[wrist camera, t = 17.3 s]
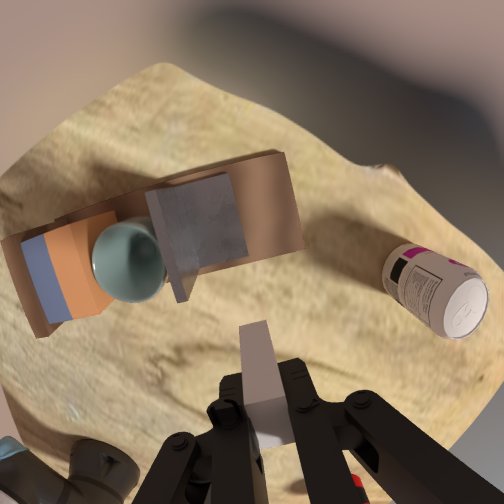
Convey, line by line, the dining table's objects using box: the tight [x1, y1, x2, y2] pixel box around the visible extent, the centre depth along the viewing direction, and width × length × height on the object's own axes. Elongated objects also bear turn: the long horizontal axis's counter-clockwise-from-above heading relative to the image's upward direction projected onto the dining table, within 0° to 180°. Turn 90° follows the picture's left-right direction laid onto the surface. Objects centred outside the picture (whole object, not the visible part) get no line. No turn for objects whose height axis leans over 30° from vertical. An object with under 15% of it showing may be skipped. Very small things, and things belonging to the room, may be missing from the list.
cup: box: [92, 216, 169, 303], centre depth 32 cm, size 8×8×10 cm
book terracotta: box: [43, 210, 118, 319], centre depth 31 cm, size 4×9×11 cm, turn 13°
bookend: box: [145, 173, 249, 303], centre depth 31 cm, size 7×10×11 cm
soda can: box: [352, 475, 370, 504], centre depth 46 cm, size 8×8×12 cm
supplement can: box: [382, 243, 489, 340], centre depth 34 cm, size 8×8×15 cm
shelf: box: [1, 152, 306, 339], centre depth 31 cm, size 31×12×13 cm, turn 103°
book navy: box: [20, 234, 73, 324], centre depth 31 cm, size 4×9×11 cm, turn 13°
